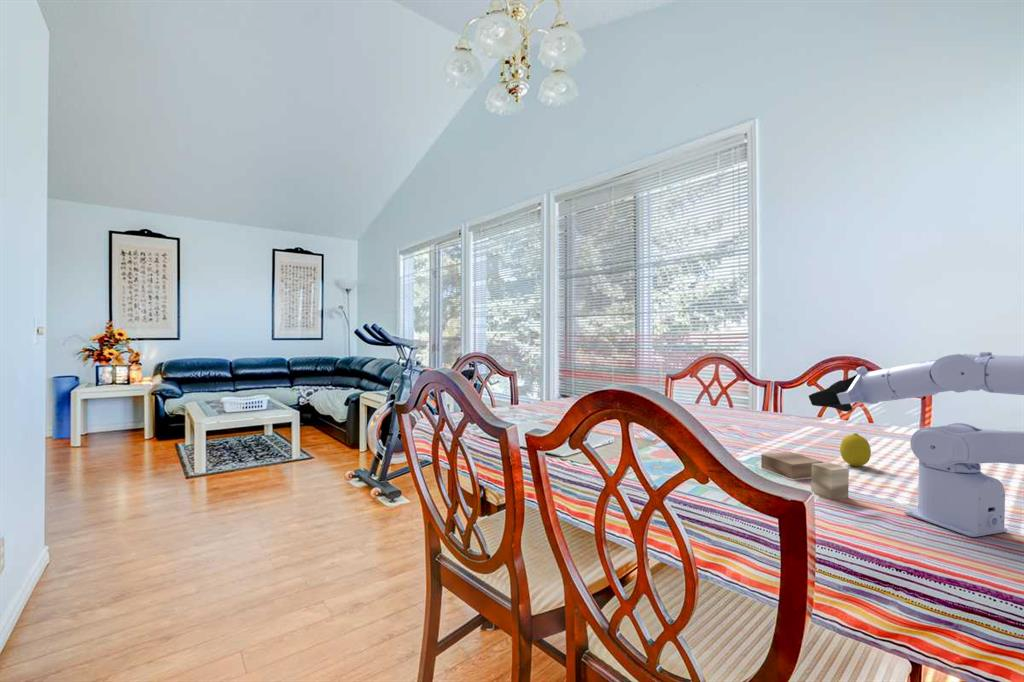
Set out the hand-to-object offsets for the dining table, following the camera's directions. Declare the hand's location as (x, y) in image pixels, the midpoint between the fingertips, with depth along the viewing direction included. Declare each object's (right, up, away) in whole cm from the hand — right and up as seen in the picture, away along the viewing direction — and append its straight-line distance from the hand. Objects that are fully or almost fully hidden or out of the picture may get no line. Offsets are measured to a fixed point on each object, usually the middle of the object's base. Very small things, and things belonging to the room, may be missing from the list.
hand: (822, 395), depth 92 cm
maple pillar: (-4, -18, -8) cm, 20 cm away
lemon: (+15, -18, +10) cm, 25 cm away
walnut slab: (-3, -17, +6) cm, 18 cm away
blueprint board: (-2, -18, +5) cm, 19 cm away
